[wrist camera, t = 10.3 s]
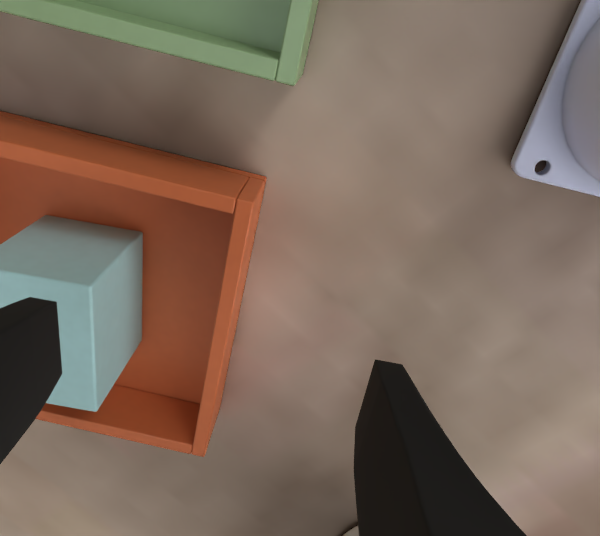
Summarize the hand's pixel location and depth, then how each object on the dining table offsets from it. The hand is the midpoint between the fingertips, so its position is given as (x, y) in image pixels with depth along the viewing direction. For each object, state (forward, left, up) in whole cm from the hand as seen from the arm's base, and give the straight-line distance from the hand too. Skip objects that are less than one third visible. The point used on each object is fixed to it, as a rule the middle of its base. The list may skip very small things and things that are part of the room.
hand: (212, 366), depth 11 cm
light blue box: (+6, +4, -9) cm, 12 cm away
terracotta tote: (+6, +4, -9) cm, 12 cm away
